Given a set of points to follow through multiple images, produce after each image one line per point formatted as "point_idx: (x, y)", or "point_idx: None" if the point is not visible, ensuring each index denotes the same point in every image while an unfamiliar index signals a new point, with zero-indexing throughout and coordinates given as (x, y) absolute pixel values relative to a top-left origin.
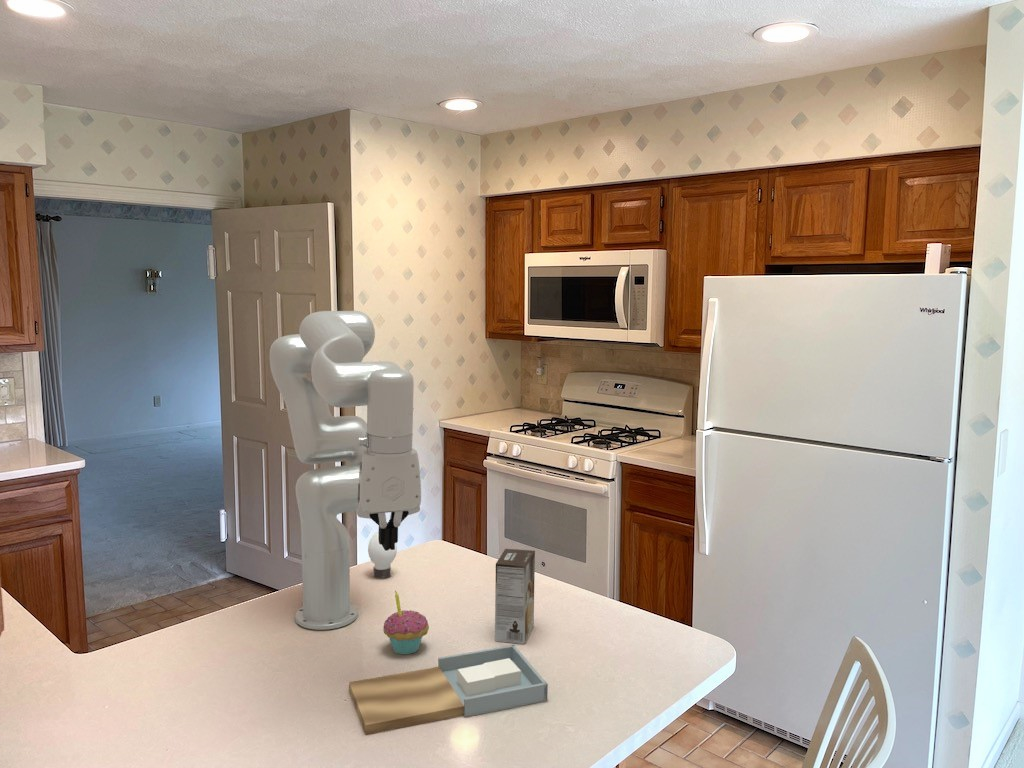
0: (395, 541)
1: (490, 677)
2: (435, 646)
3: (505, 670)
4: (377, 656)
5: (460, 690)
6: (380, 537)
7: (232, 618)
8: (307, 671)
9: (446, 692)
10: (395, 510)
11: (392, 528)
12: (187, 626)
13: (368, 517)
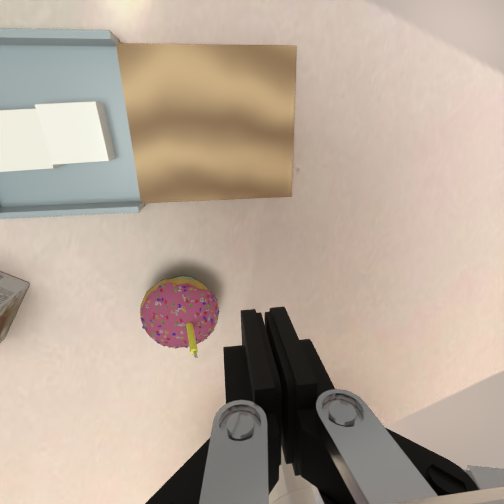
0: (235, 347)
1: (44, 106)
2: (136, 289)
3: (8, 124)
4: (229, 281)
5: (114, 127)
6: (319, 361)
7: (381, 409)
8: (329, 264)
9: (141, 107)
10: None
11: (272, 385)
12: (429, 399)
13: (475, 474)
